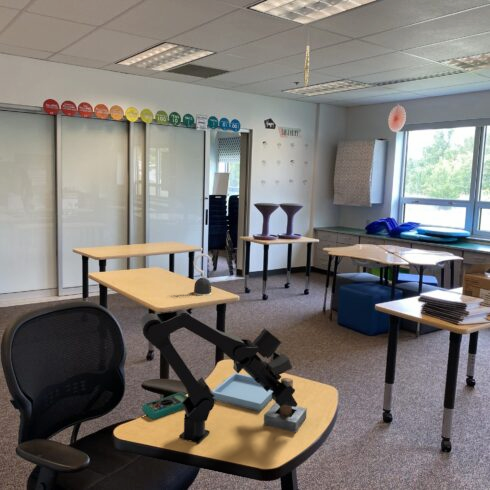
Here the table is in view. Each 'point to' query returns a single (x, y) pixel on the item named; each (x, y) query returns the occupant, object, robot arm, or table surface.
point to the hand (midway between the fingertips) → (290, 399)
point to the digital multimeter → (164, 406)
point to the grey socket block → (285, 418)
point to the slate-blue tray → (242, 392)
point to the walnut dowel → (286, 409)
